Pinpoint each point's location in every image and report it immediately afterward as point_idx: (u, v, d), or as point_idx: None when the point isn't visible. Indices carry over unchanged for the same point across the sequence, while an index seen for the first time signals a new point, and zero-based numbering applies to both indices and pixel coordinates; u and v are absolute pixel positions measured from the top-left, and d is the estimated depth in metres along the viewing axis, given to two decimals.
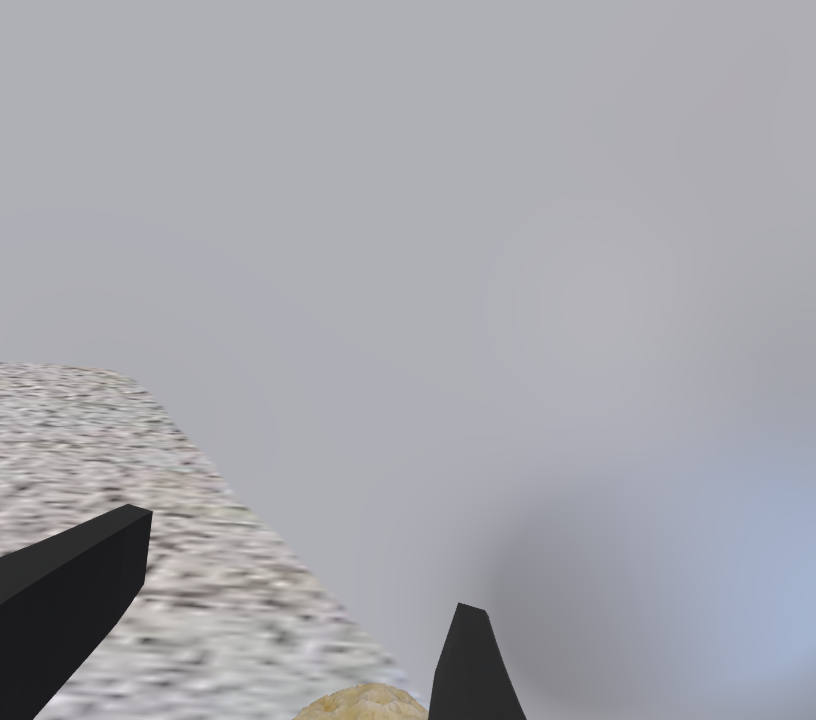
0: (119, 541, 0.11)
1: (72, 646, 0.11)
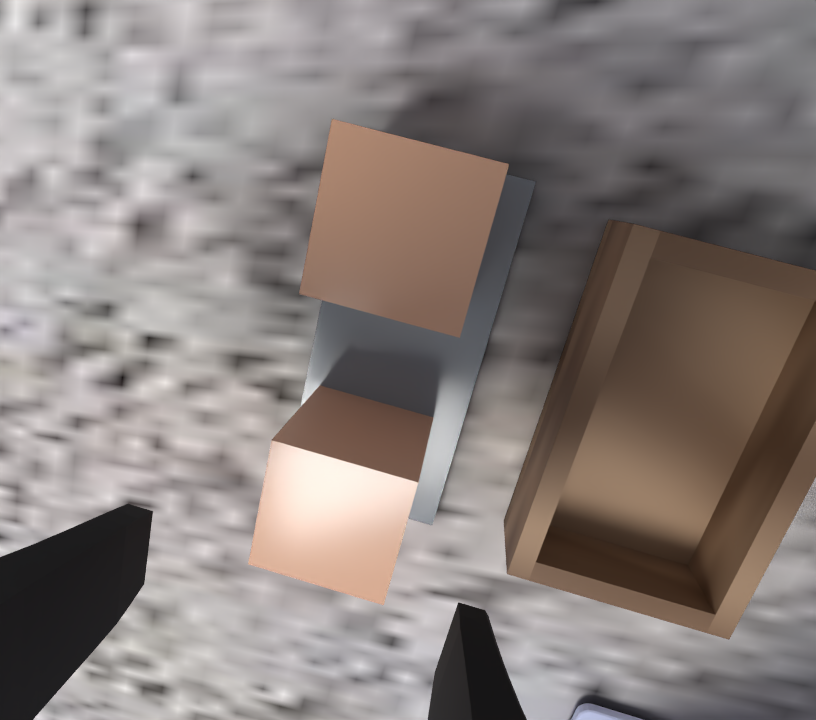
0: (119, 540, 0.11)
1: (72, 645, 0.11)
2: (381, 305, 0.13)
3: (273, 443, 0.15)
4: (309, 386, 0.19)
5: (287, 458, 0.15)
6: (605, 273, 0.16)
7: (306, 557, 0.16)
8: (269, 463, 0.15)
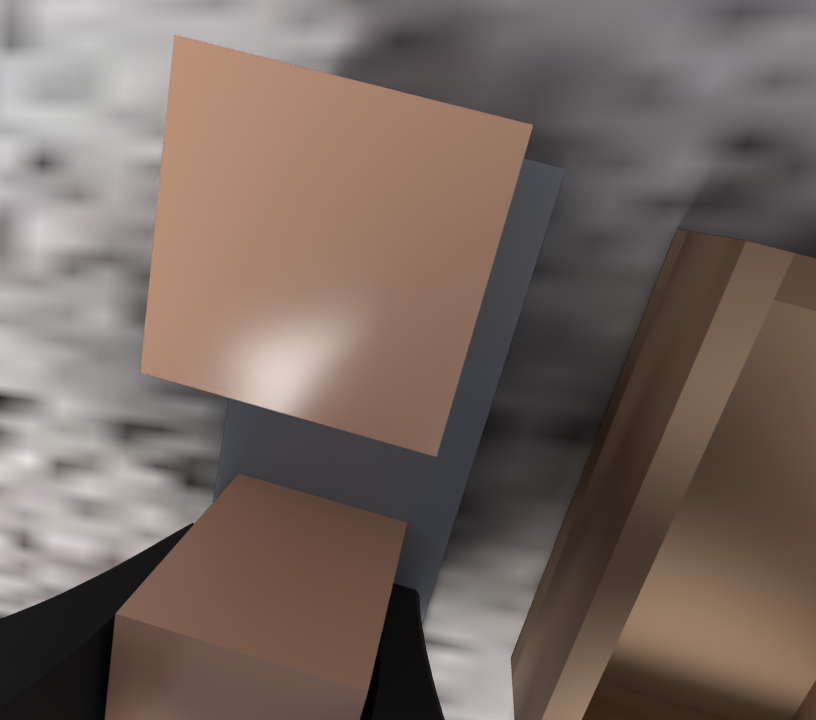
0: None
1: None
2: (290, 396, 0.07)
3: (119, 618, 0.09)
4: (224, 474, 0.13)
5: (143, 642, 0.09)
6: (682, 319, 0.09)
7: None
8: (115, 650, 0.09)
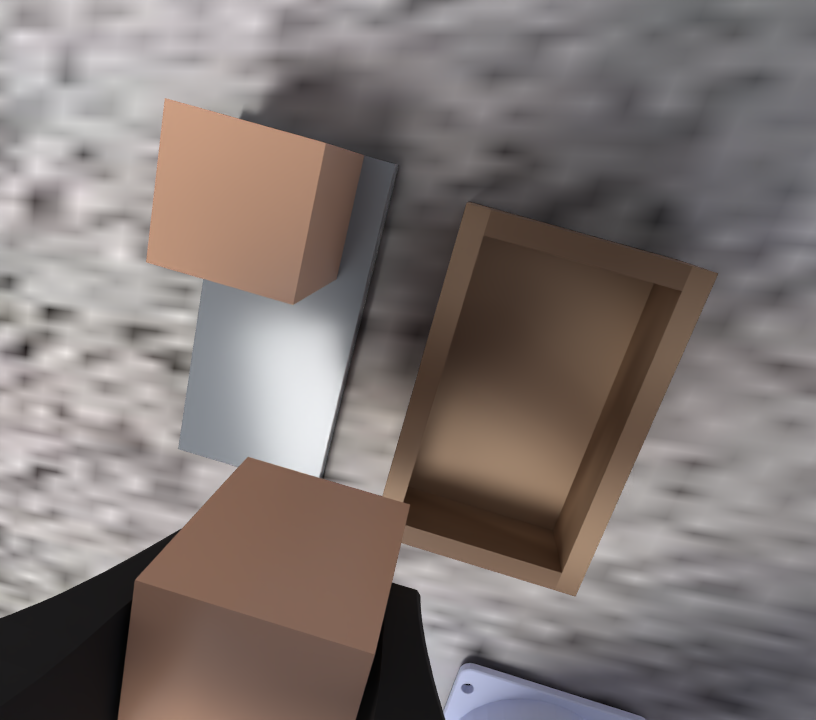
0: None
1: None
2: (221, 273, 0.14)
3: (138, 585, 0.09)
4: (196, 356, 0.20)
5: (161, 608, 0.09)
6: None
7: None
8: (133, 615, 0.09)
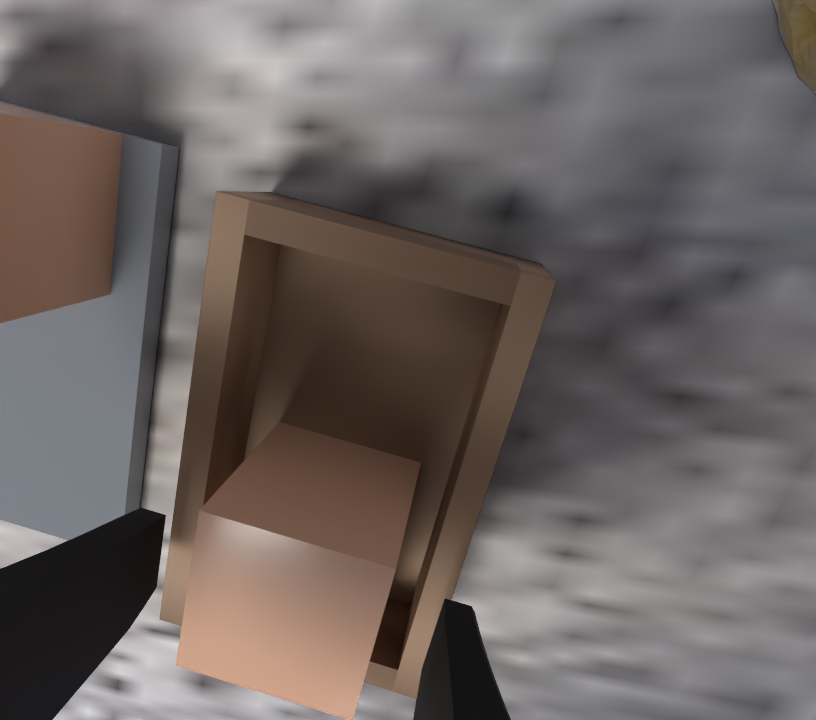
0: (133, 545, 0.11)
1: (87, 651, 0.11)
2: None
3: (201, 515, 0.11)
4: None
5: (220, 534, 0.11)
6: None
7: (250, 659, 0.12)
8: (197, 540, 0.11)
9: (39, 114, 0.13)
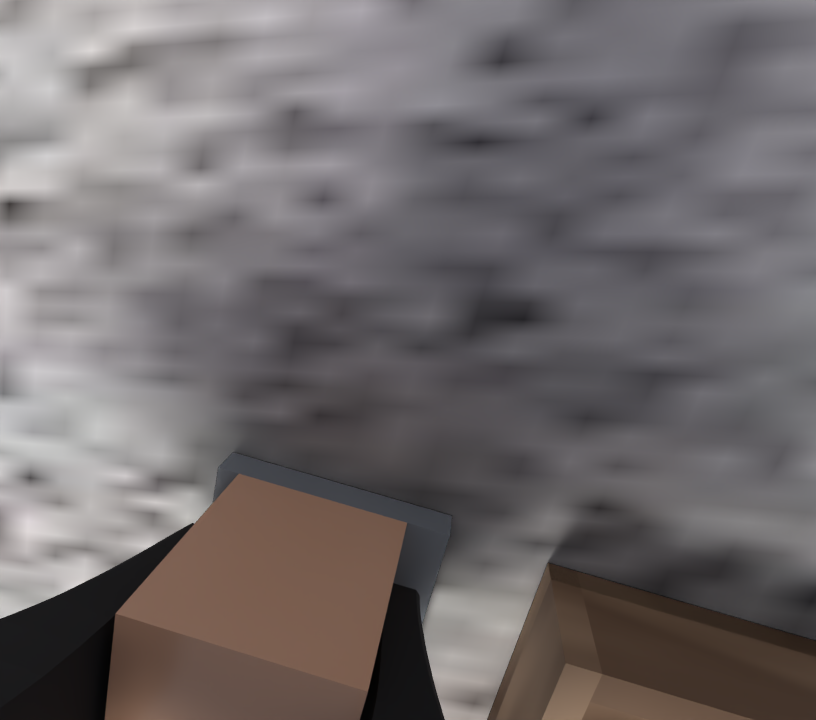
0: None
1: None
2: None
3: None
4: None
5: None
6: (536, 675, 0.12)
7: None
8: None
9: (336, 525, 0.12)
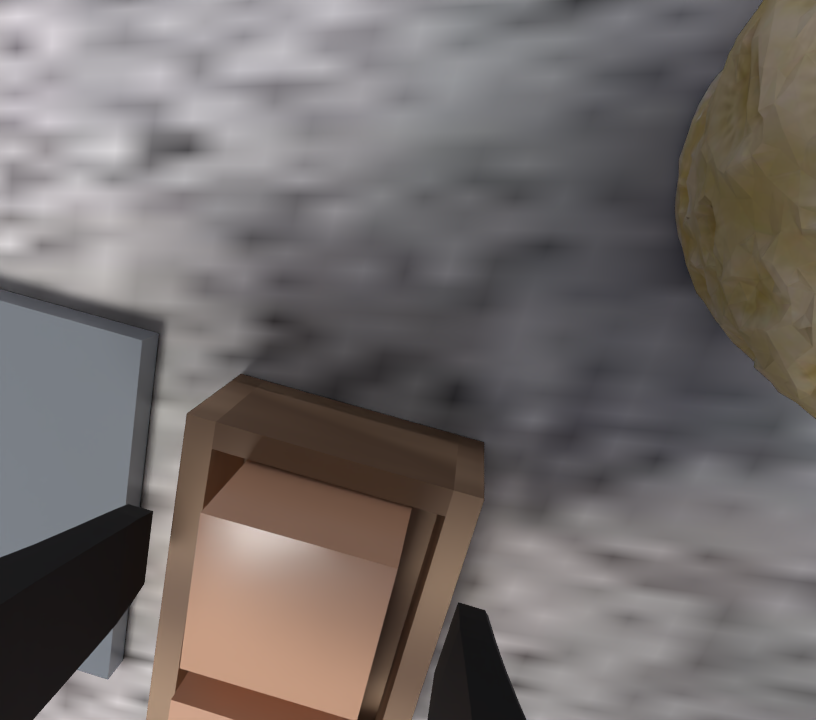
0: (119, 540, 0.11)
1: (73, 645, 0.11)
2: (269, 685, 0.12)
3: (173, 703, 0.12)
4: None
5: (189, 719, 0.12)
6: None
7: None
8: None
9: None
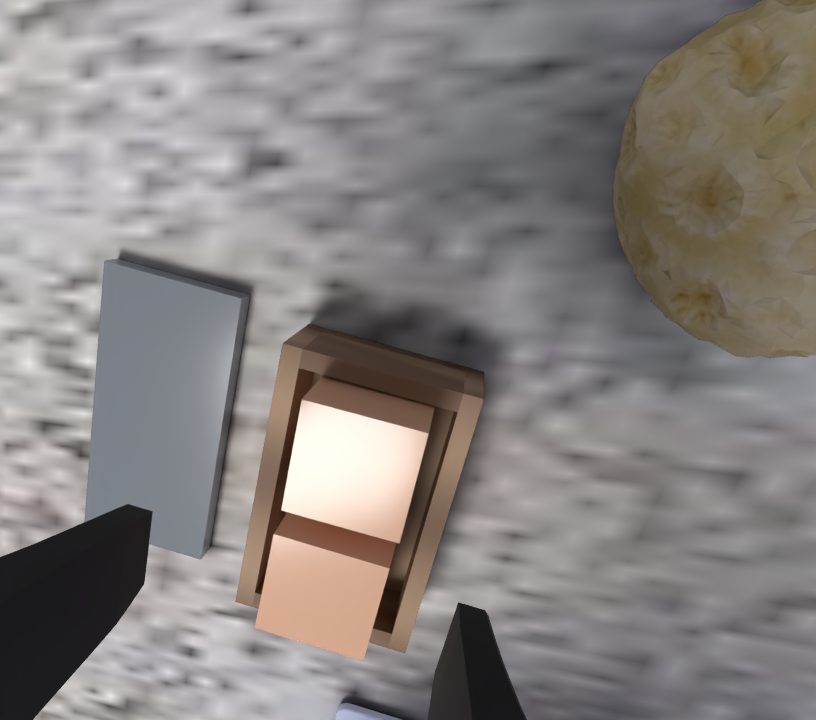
0: (119, 540, 0.11)
1: (72, 645, 0.11)
2: (341, 520, 0.18)
3: (275, 536, 0.19)
4: (93, 449, 0.24)
5: (285, 548, 0.19)
6: None
7: (301, 623, 0.19)
8: (272, 551, 0.19)
9: None
